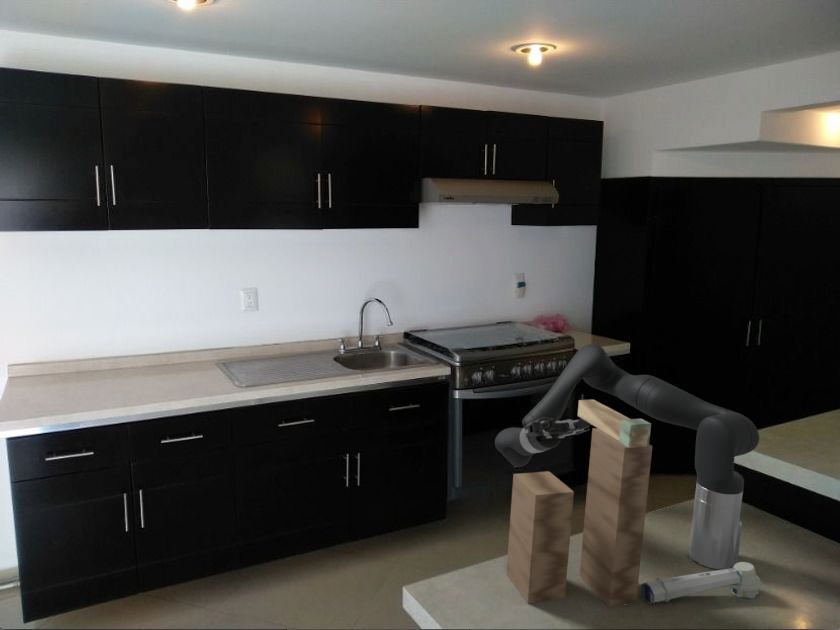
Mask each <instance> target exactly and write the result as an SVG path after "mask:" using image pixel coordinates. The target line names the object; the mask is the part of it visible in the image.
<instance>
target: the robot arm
mask: <svg viewBox="0 0 840 630" xmlns="http://www.w3.org/2000/svg"><path fill="white" fill-rule="evenodd" d="M582 379H583V381H584V382H585V383H586V384H587V385H589V386H590V387H591V388H594V389H596V390H599V391H602V392H604V393H607V394H609V395H612V396H614V397H616V398H618V399H620V400H621V401H622V402H624V403H626V404H628V405H629V406H632V407H633V408H635V409H637V410H639V411H640V412H642V413H643V414H645V415H647V416H649V417H650V418H652V419H654V420H658V421H660V422H663V423H668V424H671V425H675V426H680V427H684V428H689V429H691V430H696V431H697V432H696V440H695V451H694V452H695V453H694V467H695V468H694V469H695V472H696V475H697V476H696V484H695V485H696V486H695V487H696V488H695V493H694V501H693V509H692V510H693V511H692V518H691V519H692V520H691V527H690V528H691V529H690V536H689V538H690V539H689V545H688V546H689V547H688V553H689V554H688V556H689V557H690V559H691V560H692V561H694V562H695V561H696V562H695V563H697V562H698V563H697V564H699V565H701V566H703V565H704V567H707V568H709V569H715V570H723V569H730V568H733V567H734V565H735V564H736V563H739V562H738V560H739V552H740V546H741V540H742V539H741V538H742V537H741V536H742V529H743V523H742V521H740V516H741V510H742V509H741V507H742V500H743V494H744V488H745V487H744V485H745V479H744V477H743V475H741V474H740V473H739V472H737V471H735V470H734V469H735V457H740V456H743V455H746V454H749V453H750V452H752V451H754V450H755V449H757V447H758V445H759V443H760V434H759V430H758V428H757V427H756V425H755V424H754V423H753V421H752V420H751V419H749V418H748V417H747V416H745V415H743V414H741V413H738V412H735V411H733V410H730V409H727V408H725V407H721V406H719V405H715V404H713V403H710V402H708V401H705V400H703V399H701V398H699V397H697V396H695V395H693V394H691V393H689V392H688V391H685V390H683V389H680V388H678V387H677V386H675V385H672V384H671V383H669V382H667V381H664V380H663V379H661V378H658V377H656V376H653V375H649V374H639V375H634V374H630V373H629V372H627V371H625V370H623V369H622V368H620V367H619V366H617V365H616V363H614V361H613V360H612V359H611V358H610V356H609V355H608V353H607V352H606V351H605V349H604V348H603V347H602V346H601V345H599V344H597V343H590V344H585V345H584V346H582V347H581V348H580V349H578V351H577V352H576V353H575V354H574V355H573V356H572V358H571V359H570V361H569V362H568V364H567V365H566V366H565V368H564V369H563V371H562V372H561V373H560V375H559V376H558V377H557V379H556V380H555V382H554V384H553V385H552V386H551V387H550V388H549V391H547V393H546V394H545V395H544V397H543V398H541V400H540V401H539V402H538V403H537V404H535V406H534V407H533V408H532V409H531V410H530V411H529V412H528V413H527V414H526V415H525V416H524V418H523V419H522V421H521V423H522V426H523V427H507V428H505V429H503V430H501V431H500V432H499V433H498V434H497V435H496V437H495V438H494V445H495V448H496V449H497V451H498V452H499V453H500V454H501V455H502V456H503V457H504V458H505V459H506V460H507V461H508V462H509V463H510V464H511V465H512V466H514V467H515V468H521V467H524V466H526V465H527V464H528V463H529V461H530V460H531V458H532V457H533V455H535V454H537V453H538V454H539V453H543V452H546V451H549V450H551V449H553V448H556V447H557V446H559V444H560V443H561V440H562V439H564V438H565V437H566V436H572V435H573V436H578V435H580V434H582V433H586V432H588V431H590V427H591V426H592V424H590V423H588V422H587V421H585V420H583V419H582V418H578V419H574V420H573V419H570V418H569V419H564V420H560V419H561V418H562V416H563V415H564V412H565V410H566V408H567V404H568V403H569V399H570V397H571V395H572V393H573V391H574V389H575V388H576V386H577V385H578V384H579V382H580V381H581V380H582Z"/></svg>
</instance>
